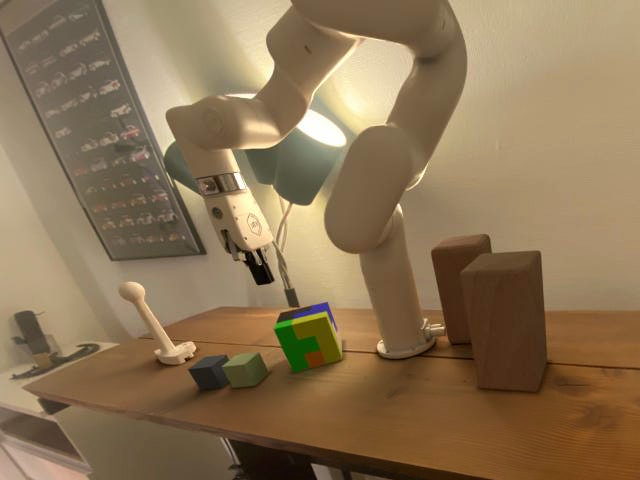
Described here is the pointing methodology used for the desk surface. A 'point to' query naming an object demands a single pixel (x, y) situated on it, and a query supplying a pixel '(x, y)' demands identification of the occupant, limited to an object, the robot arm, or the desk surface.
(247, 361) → the sage green block
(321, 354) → the puzzle toy
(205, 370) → the slate blue block
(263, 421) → the desk surface
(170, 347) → the joystick
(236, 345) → the desk surface
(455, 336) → the block
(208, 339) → the desk surface
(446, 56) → the robot arm
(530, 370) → the wooden block
